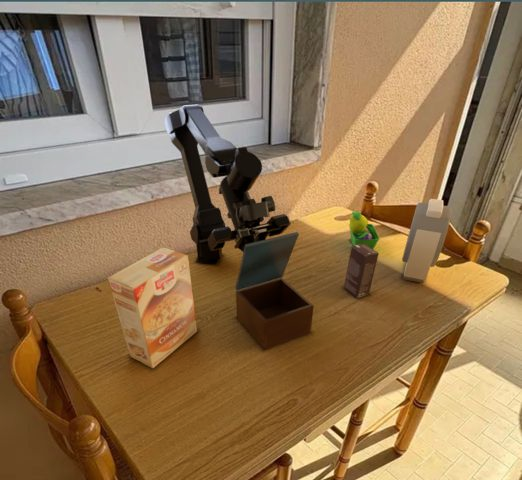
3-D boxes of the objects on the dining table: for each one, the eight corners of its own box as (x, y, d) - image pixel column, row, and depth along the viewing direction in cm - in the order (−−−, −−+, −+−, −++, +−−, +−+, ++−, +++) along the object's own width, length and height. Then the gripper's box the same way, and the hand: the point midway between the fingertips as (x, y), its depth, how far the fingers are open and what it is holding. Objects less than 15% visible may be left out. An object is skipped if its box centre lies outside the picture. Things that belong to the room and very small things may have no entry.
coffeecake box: (153, 369, 79) (133, 288, 66) (128, 356, 81) (104, 277, 69) (199, 331, 88) (189, 254, 75) (175, 321, 91) (162, 245, 78)
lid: (299, 234, 79) (297, 231, 80) (246, 247, 75) (244, 244, 75) (282, 277, 91) (281, 275, 92) (236, 290, 87) (235, 288, 87)
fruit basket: (376, 254, 117) (384, 219, 110) (348, 254, 117) (354, 218, 110) (369, 238, 126) (376, 204, 119) (342, 238, 126) (348, 204, 119)
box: (370, 294, 101) (379, 252, 93) (356, 298, 99) (365, 256, 91) (356, 283, 105) (364, 242, 97) (342, 287, 103) (350, 246, 95)
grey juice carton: (427, 290, 102) (453, 217, 89) (395, 284, 104) (415, 211, 91) (431, 261, 115) (454, 192, 101) (402, 255, 117) (421, 188, 104)
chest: (310, 332, 88) (313, 305, 83) (264, 349, 84) (264, 321, 78) (280, 304, 97) (281, 277, 92) (236, 318, 92) (235, 290, 87)
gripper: (208, 190, 74) (235, 265, 74) (288, 176, 81) (313, 245, 81) (197, 216, 85) (221, 282, 85) (269, 201, 92) (291, 262, 92)
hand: (262, 267), depth 85 cm, fingers closed
